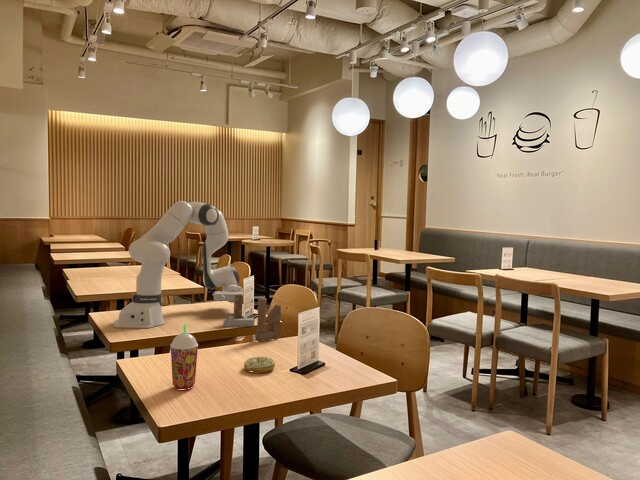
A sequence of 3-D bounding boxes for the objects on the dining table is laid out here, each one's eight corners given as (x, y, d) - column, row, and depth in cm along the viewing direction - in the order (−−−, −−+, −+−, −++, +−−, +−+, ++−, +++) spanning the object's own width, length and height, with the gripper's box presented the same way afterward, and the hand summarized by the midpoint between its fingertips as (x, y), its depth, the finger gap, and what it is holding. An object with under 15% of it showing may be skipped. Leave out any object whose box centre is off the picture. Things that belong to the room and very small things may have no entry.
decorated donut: (241, 366, 191) (242, 356, 190) (271, 364, 194) (271, 354, 193) (246, 375, 181) (246, 364, 180) (277, 373, 184) (277, 362, 183)
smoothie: (165, 387, 167) (165, 323, 165) (188, 381, 172) (189, 320, 171) (178, 394, 161) (179, 329, 159) (202, 388, 167) (203, 325, 165)
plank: (234, 324, 253) (235, 295, 252) (233, 322, 256) (234, 294, 256) (242, 324, 254) (242, 295, 253) (240, 322, 257) (241, 293, 256)
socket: (224, 326, 248) (224, 320, 247) (222, 322, 256) (222, 316, 256) (254, 325, 251) (254, 319, 251) (251, 321, 260) (251, 315, 259)
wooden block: (280, 338, 230) (281, 297, 229) (260, 342, 223) (261, 299, 222) (274, 336, 233) (276, 295, 232) (254, 340, 226) (255, 298, 225)
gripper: (212, 287, 276) (214, 292, 263) (251, 287, 281) (255, 292, 268) (212, 299, 277) (213, 305, 263) (251, 299, 282) (254, 305, 269)
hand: (235, 299), depth 266 cm, fingers open, 8 cm apart
